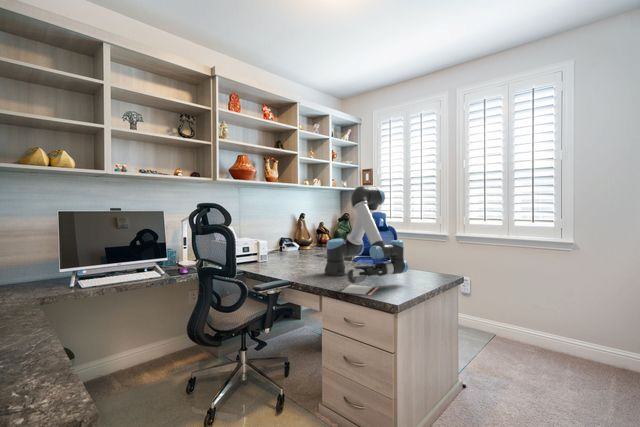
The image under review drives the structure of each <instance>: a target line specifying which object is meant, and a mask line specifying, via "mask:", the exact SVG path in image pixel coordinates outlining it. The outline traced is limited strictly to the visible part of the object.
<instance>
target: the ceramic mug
mask: <svg viewBox="0 0 640 427" xmlns="http://www.w3.org/2000/svg"><path fill="white" fill-rule="evenodd" d="M353 271H362V269H351V270H349V271H348V273H347V274H346V275H347V277H346V281H348V282H349V283H350V284H351V285H355V284H359V283H362V282H364V281H365V280H366V278H367V276H365V275H364V276H356V277H353ZM364 272H365V271H364Z"/></svg>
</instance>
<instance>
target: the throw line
mask: <svg viewBox="0 0 640 427" xmlns="http://www.w3.org/2000/svg"><path fill="white" fill-rule="evenodd" d="M379 288H380V287H378V286H376V287H375V288H374V289H373V290H372V289H371V290H370V291H369V292H368V294H367V296H369V297H370V296H372V295H374V293H375V292H376V291H377V290H379Z"/></svg>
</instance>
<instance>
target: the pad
mask: <svg viewBox="0 0 640 427" xmlns="http://www.w3.org/2000/svg"><path fill="white" fill-rule="evenodd" d="M373 288H374V287H373V286H366V285H358V284H357V285H356V284H350V285H348V286H347V287H345V288H344V289H342V290H341V293H349V294H356V295H365V296H366V294H367V293H369V292H371V291H372V289H373Z"/></svg>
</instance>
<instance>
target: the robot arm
mask: <svg viewBox="0 0 640 427" xmlns="http://www.w3.org/2000/svg"><path fill="white" fill-rule="evenodd" d="M385 199H386V196H385V192H384V190H383V189H382V188H381V187H380V186H365V185H362V186H361V185H360V186H357V187H355V189H354V190H353V191H352V193H351V196H350V202H351V207H352V209H353V210H354V211H355V212H356V214H357V216H356V219H355V221H354V223H353V226H352V229H351V230H350V231H351V232H350V234H347V237H346V239H343V238H333V239H329V240H327V242H326V265H325V268H324V271H323V272H324V273H323V274H324V275H325V276H330V277H338V276H345V275H347V273H348V271H349V270H351V269H362V271H353V277H356V276H364V275H365V276H366V277H371V276H378V277H381V276H387V277H389V276H391V275H398V274H399V275H400V274H405V273H407V272H408V270H409V265H408V262H407V260H405V259H404V258H405V257H404V254H405V253H404V250H405V249H404V248H405V247H404V241H403V240H401V239H399V240H398V239H397V240H395V239H393V240H390V241H389V242H390V243H388V244H385V242H384V240H383V238H382V236H381V233H380V231H379V229H378V227H377V225H376V224H377V223H376V222H375V220H374V218H373V213H374V211H377V209H378V208H379V206H381V205H383V204H384V203H385ZM364 235H366V239H367V240H368V242H369V244H370V248H369V250H368V251H369V256H370V257H371V258H372V259H373V260H382V259H390V261H389V260H388V261H383V262H376V263H375V264H374V265H363V266H361V265H360V266H359V265H358V266H353V267H346V264H345V258H351V257H353V258H354V257H358V256H361V255H362V253H363V252H364V249H365V247H364V246H365V244H364V241H363V237H364ZM364 271H365V272H364Z"/></svg>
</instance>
